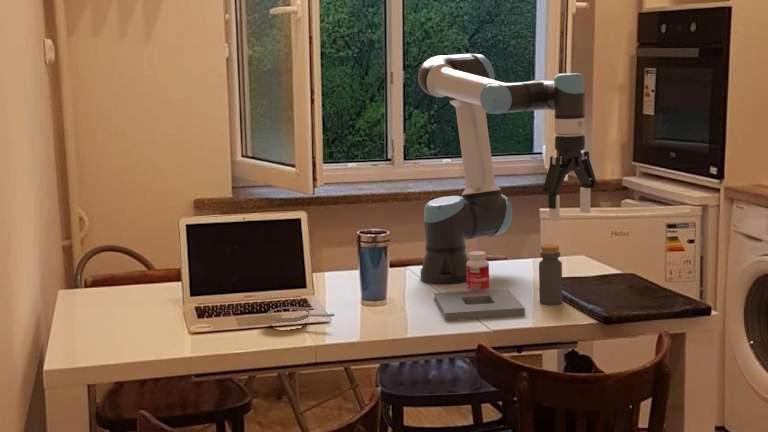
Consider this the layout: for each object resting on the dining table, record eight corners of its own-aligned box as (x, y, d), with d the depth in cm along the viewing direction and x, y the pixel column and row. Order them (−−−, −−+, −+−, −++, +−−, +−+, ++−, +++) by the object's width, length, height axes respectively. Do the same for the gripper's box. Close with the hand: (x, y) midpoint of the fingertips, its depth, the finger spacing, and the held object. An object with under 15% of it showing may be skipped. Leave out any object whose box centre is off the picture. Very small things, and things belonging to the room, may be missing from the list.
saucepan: (279, 318, 256) (278, 304, 255) (343, 323, 249) (343, 308, 248) (259, 330, 246) (258, 315, 245) (325, 335, 239) (324, 320, 238)
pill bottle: (468, 295, 270) (467, 255, 268) (465, 289, 276) (464, 250, 274) (491, 294, 270) (490, 254, 268) (487, 288, 276) (486, 249, 274)
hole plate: (445, 321, 246) (445, 313, 246) (434, 300, 266) (434, 293, 266) (524, 315, 248) (524, 307, 248) (508, 295, 268) (507, 288, 267)
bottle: (562, 305, 256) (561, 248, 253) (539, 304, 257) (538, 248, 254) (562, 299, 262) (561, 243, 259) (540, 299, 263) (539, 243, 260)
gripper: (552, 140, 242) (553, 226, 246) (609, 130, 259) (609, 210, 263) (527, 138, 247) (528, 222, 251) (585, 129, 264) (585, 207, 268)
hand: (570, 216), depth 257 cm, fingers open, 13 cm apart
